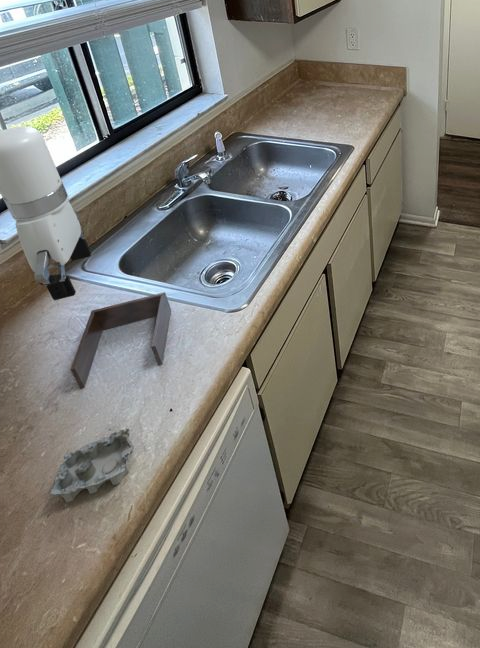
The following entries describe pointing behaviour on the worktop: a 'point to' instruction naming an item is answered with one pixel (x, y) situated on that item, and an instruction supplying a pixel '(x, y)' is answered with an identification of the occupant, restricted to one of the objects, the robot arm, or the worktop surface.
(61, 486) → the egg carton
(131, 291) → the worktop surface
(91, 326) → the frame
